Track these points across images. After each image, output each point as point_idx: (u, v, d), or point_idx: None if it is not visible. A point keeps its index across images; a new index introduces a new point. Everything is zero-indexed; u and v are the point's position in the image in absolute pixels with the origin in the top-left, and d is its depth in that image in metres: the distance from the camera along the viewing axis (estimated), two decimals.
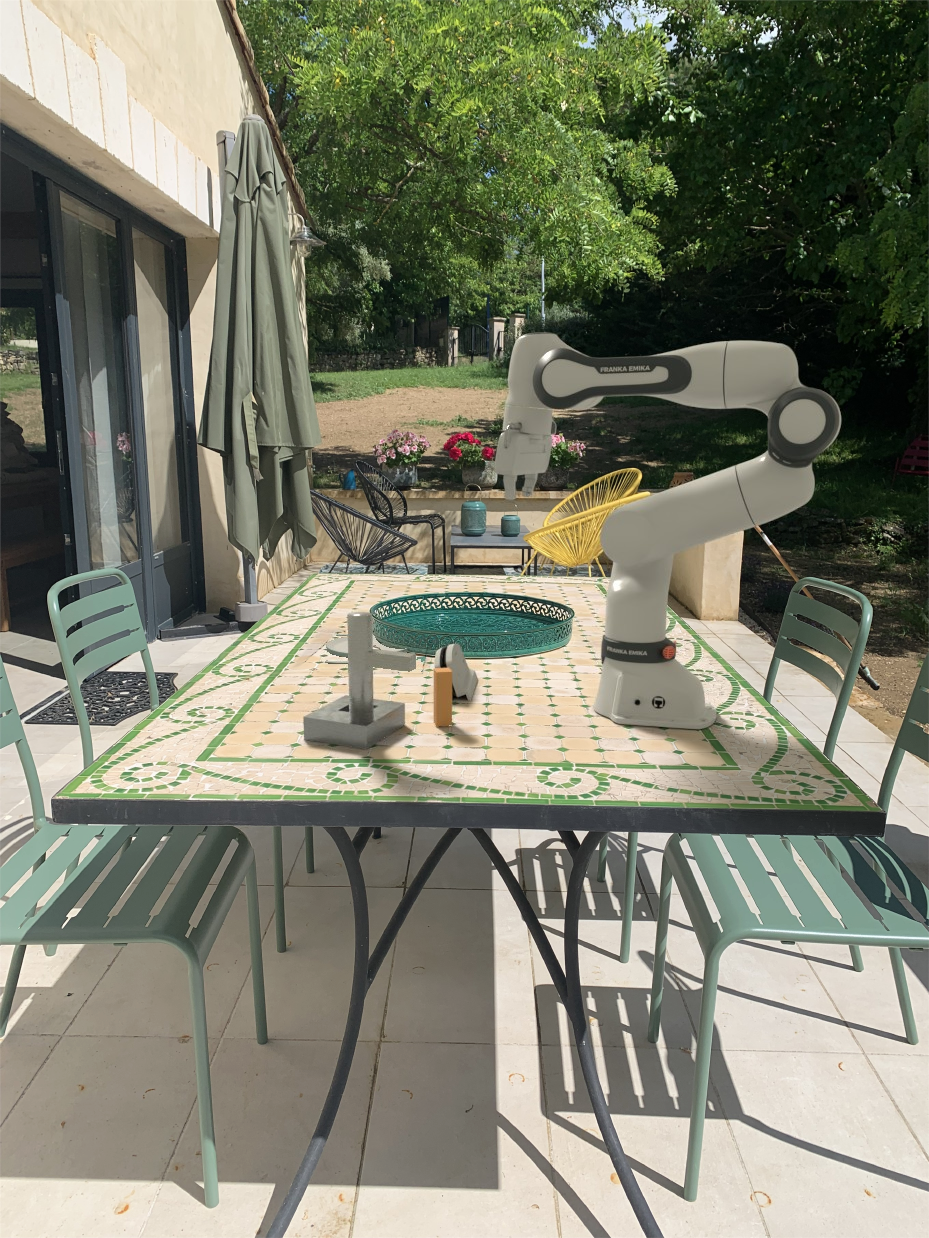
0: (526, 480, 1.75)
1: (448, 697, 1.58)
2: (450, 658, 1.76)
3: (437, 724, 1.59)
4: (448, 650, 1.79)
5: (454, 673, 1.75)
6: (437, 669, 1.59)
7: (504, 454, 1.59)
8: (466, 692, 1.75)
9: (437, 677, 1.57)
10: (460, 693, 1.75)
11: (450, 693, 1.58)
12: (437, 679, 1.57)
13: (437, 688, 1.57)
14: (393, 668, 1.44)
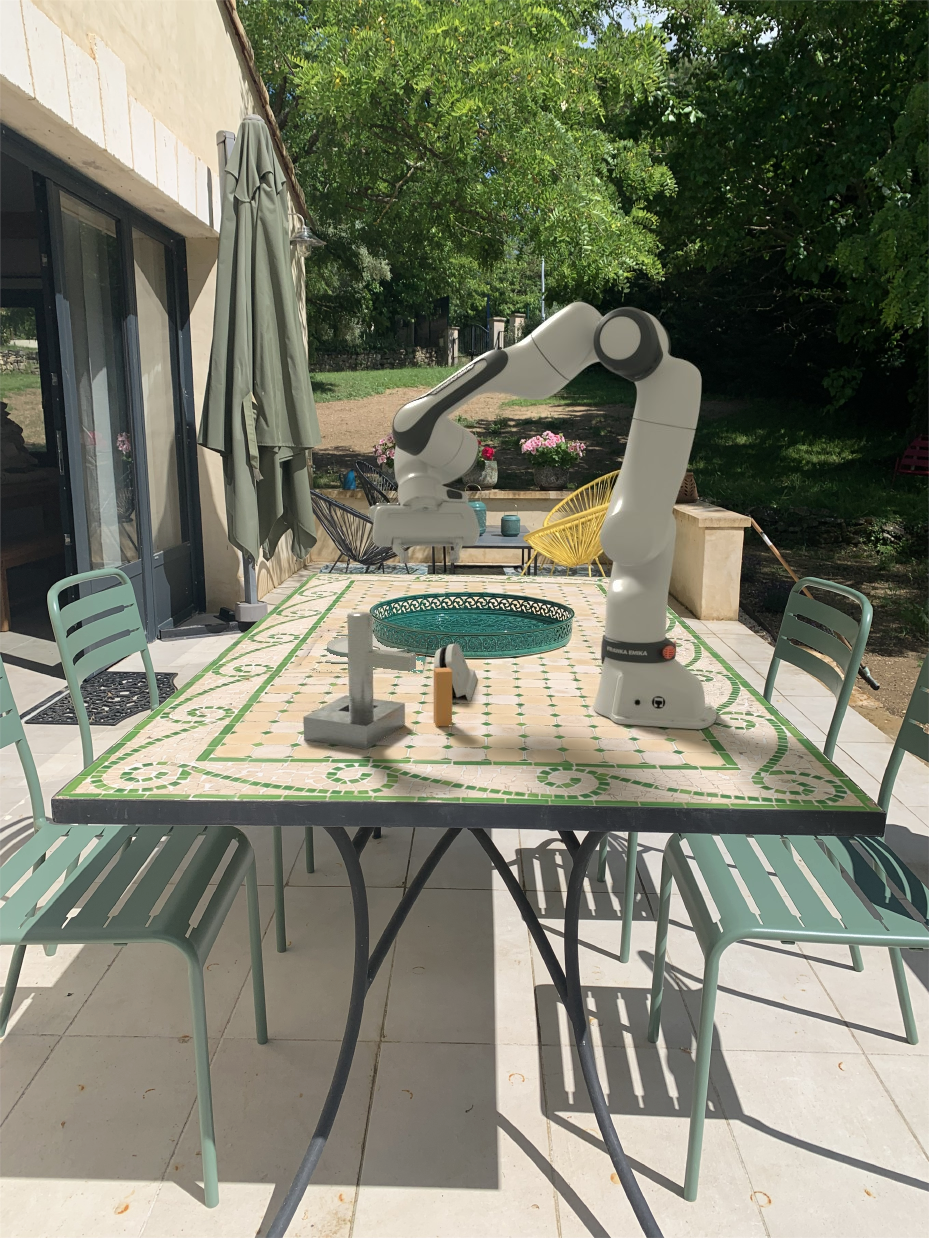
0: None
1: (448, 697, 1.58)
2: (450, 658, 1.76)
3: (437, 724, 1.59)
4: (448, 650, 1.79)
5: (454, 673, 1.74)
6: (437, 669, 1.59)
7: None
8: (466, 692, 1.75)
9: (437, 677, 1.57)
10: (460, 693, 1.75)
11: (450, 693, 1.58)
12: (437, 679, 1.57)
13: (437, 688, 1.57)
14: (393, 668, 1.44)
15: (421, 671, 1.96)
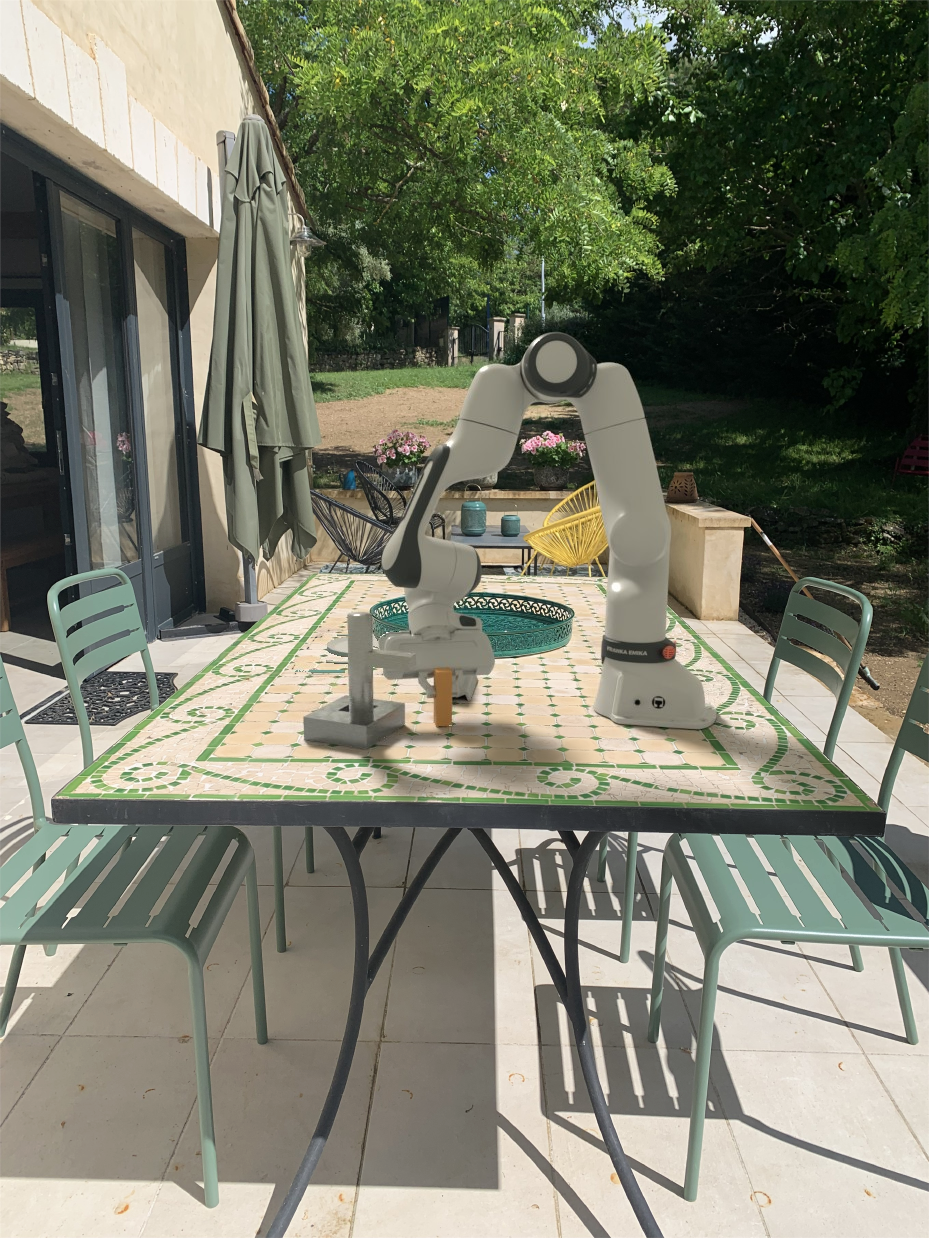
0: None
1: (448, 697, 1.58)
2: None
3: (437, 724, 1.59)
4: None
5: None
6: (437, 669, 1.59)
7: None
8: (466, 692, 1.75)
9: (437, 677, 1.57)
10: (460, 693, 1.75)
11: (450, 693, 1.58)
12: (437, 679, 1.57)
13: (437, 688, 1.57)
14: (393, 668, 1.44)
15: None
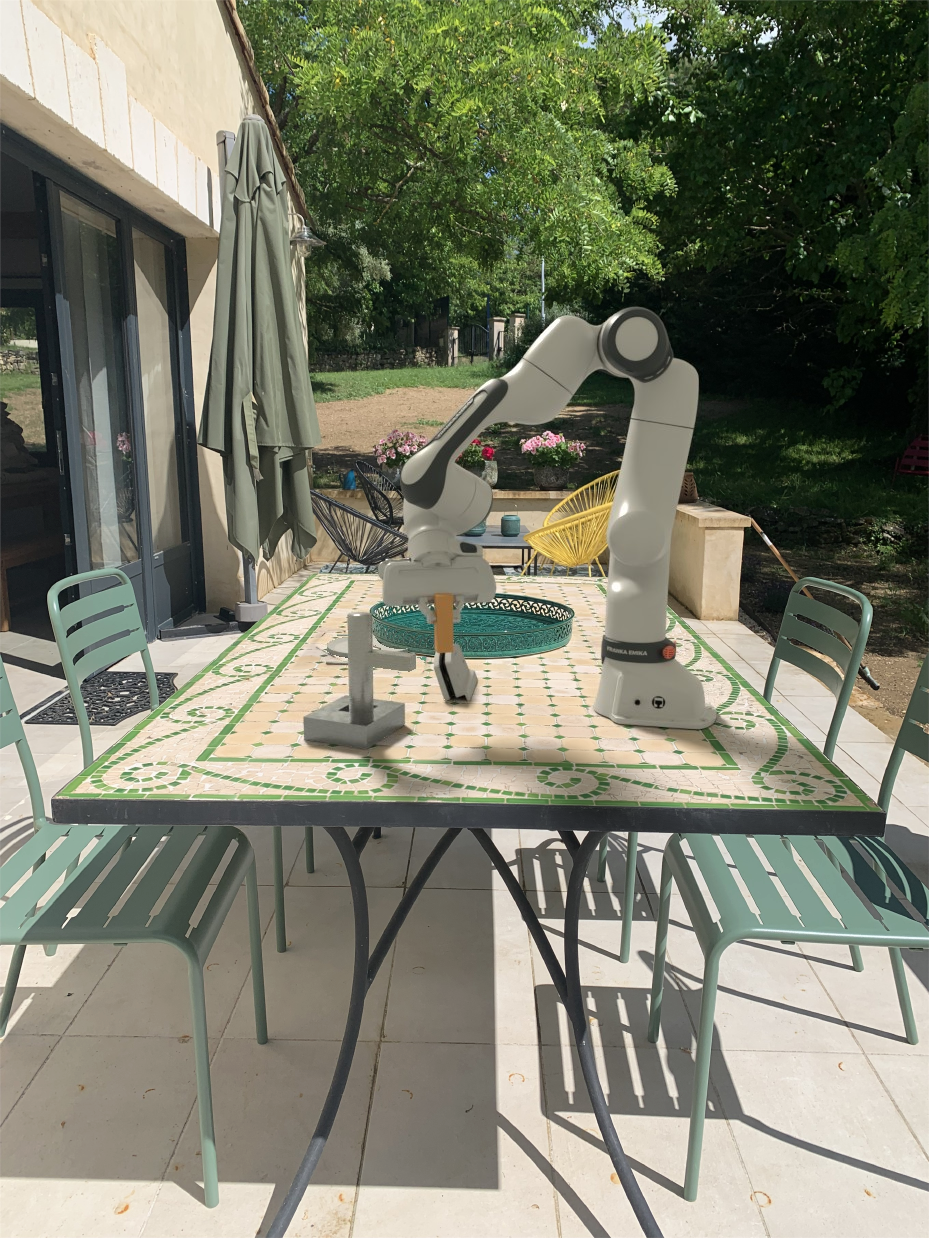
0: None
1: (449, 622, 1.55)
2: (449, 658, 1.75)
3: (438, 650, 1.56)
4: None
5: (453, 673, 1.74)
6: (438, 594, 1.56)
7: None
8: (465, 692, 1.74)
9: (438, 601, 1.54)
10: (459, 693, 1.74)
11: (451, 618, 1.55)
12: (438, 603, 1.54)
13: (438, 613, 1.55)
14: (393, 668, 1.44)
15: None
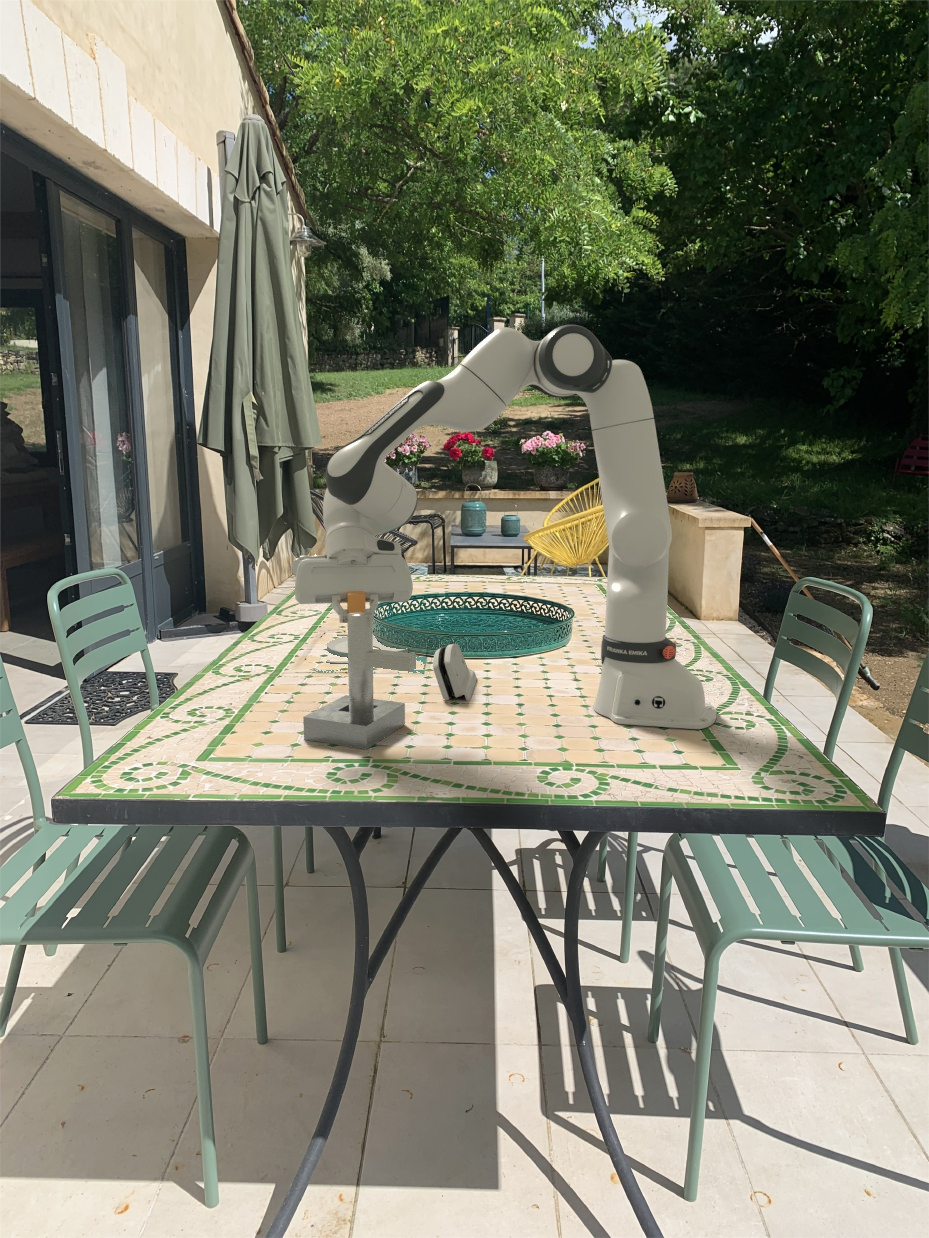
0: None
1: None
2: (449, 658, 1.75)
3: None
4: (447, 650, 1.79)
5: (452, 673, 1.74)
6: (350, 592, 1.52)
7: None
8: (464, 692, 1.74)
9: (349, 599, 1.51)
10: (458, 693, 1.74)
11: None
12: (349, 602, 1.51)
13: (350, 612, 1.51)
14: (393, 668, 1.44)
15: (422, 671, 1.96)
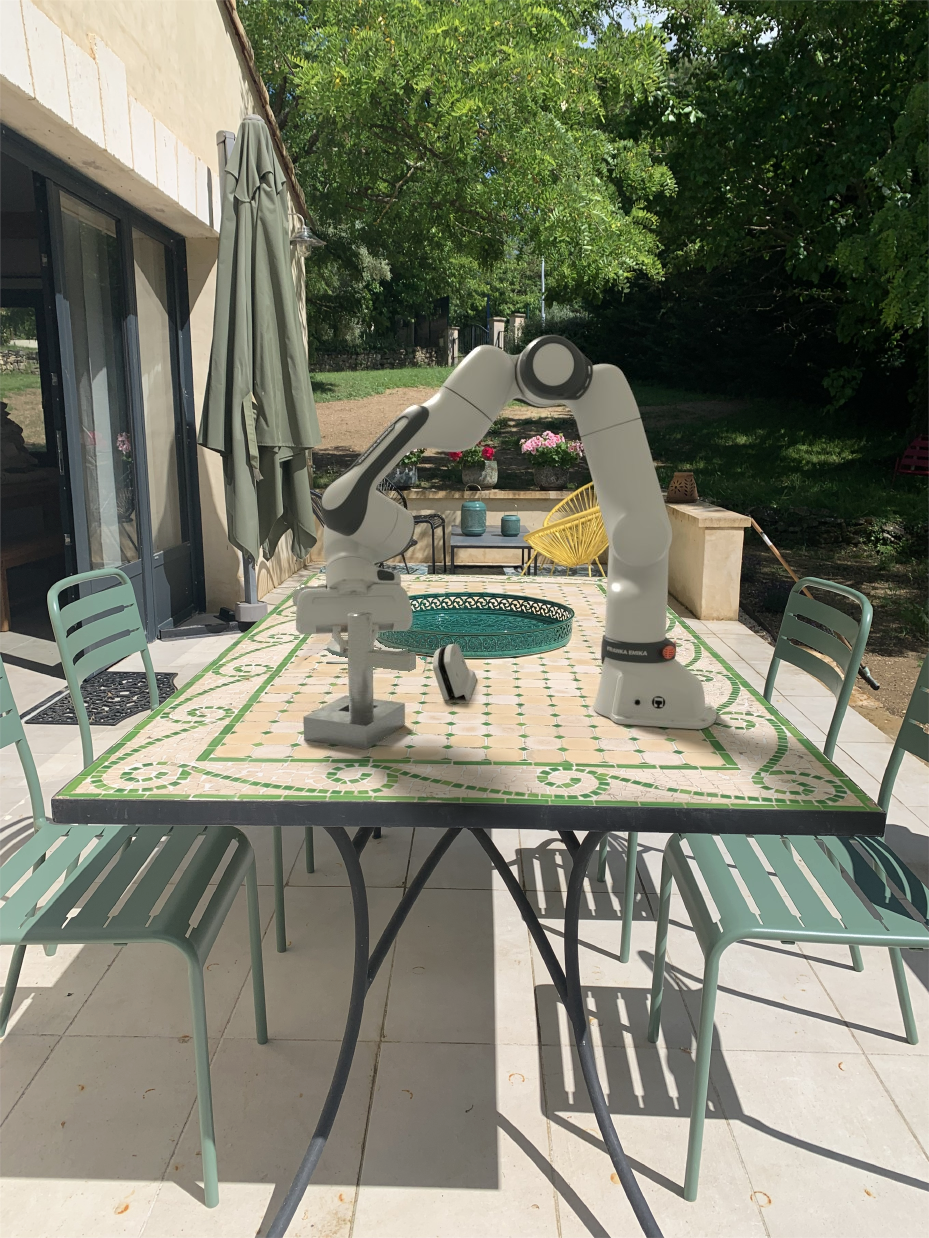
0: None
1: None
2: (448, 658, 1.75)
3: None
4: (447, 650, 1.79)
5: (452, 673, 1.74)
6: None
7: None
8: (464, 692, 1.74)
9: None
10: (458, 693, 1.74)
11: None
12: None
13: None
14: (393, 668, 1.44)
15: None
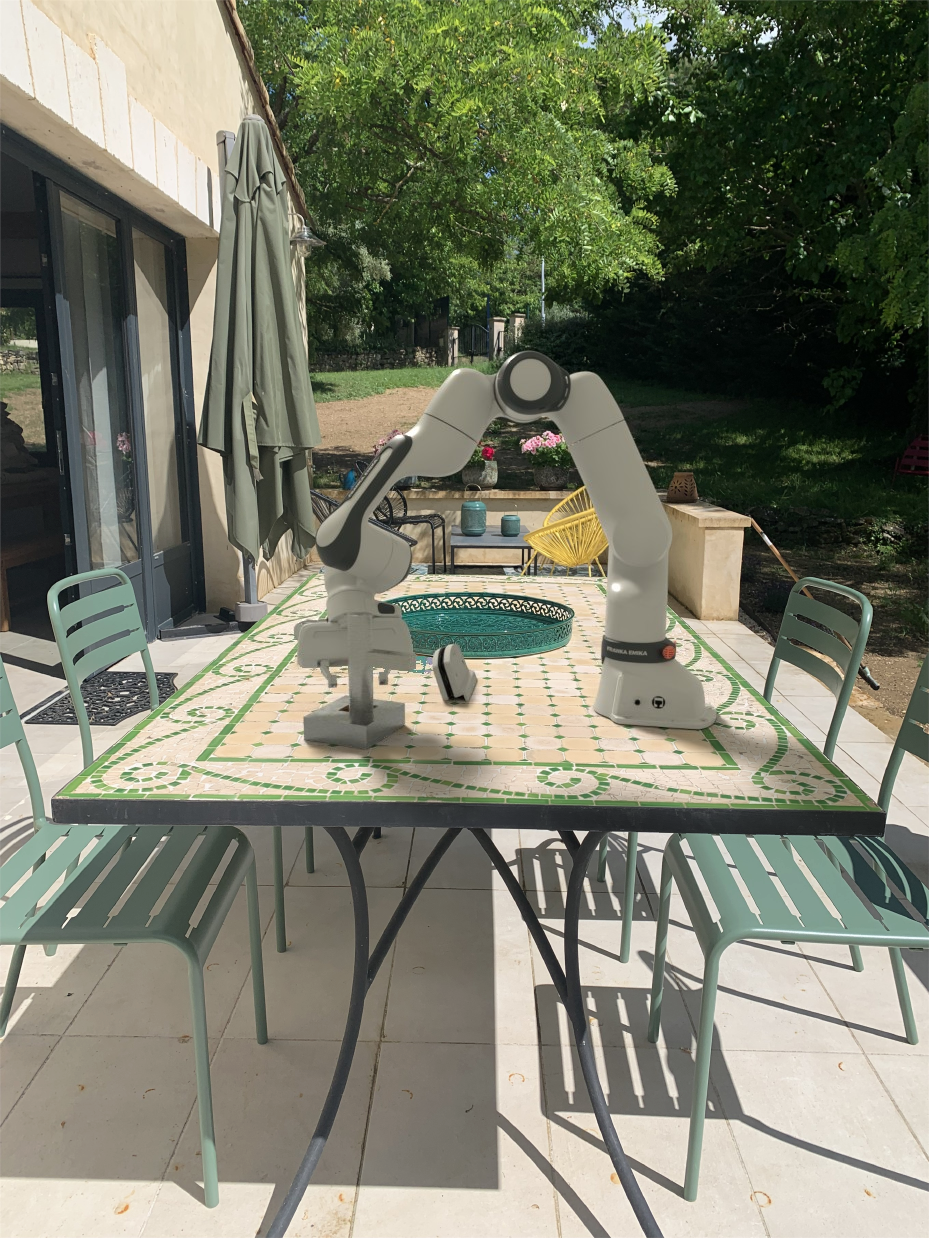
0: None
1: None
2: (448, 658, 1.75)
3: None
4: (446, 650, 1.79)
5: (452, 673, 1.74)
6: None
7: None
8: (464, 692, 1.74)
9: None
10: (458, 693, 1.74)
11: None
12: None
13: None
14: (393, 668, 1.44)
15: (423, 671, 1.96)
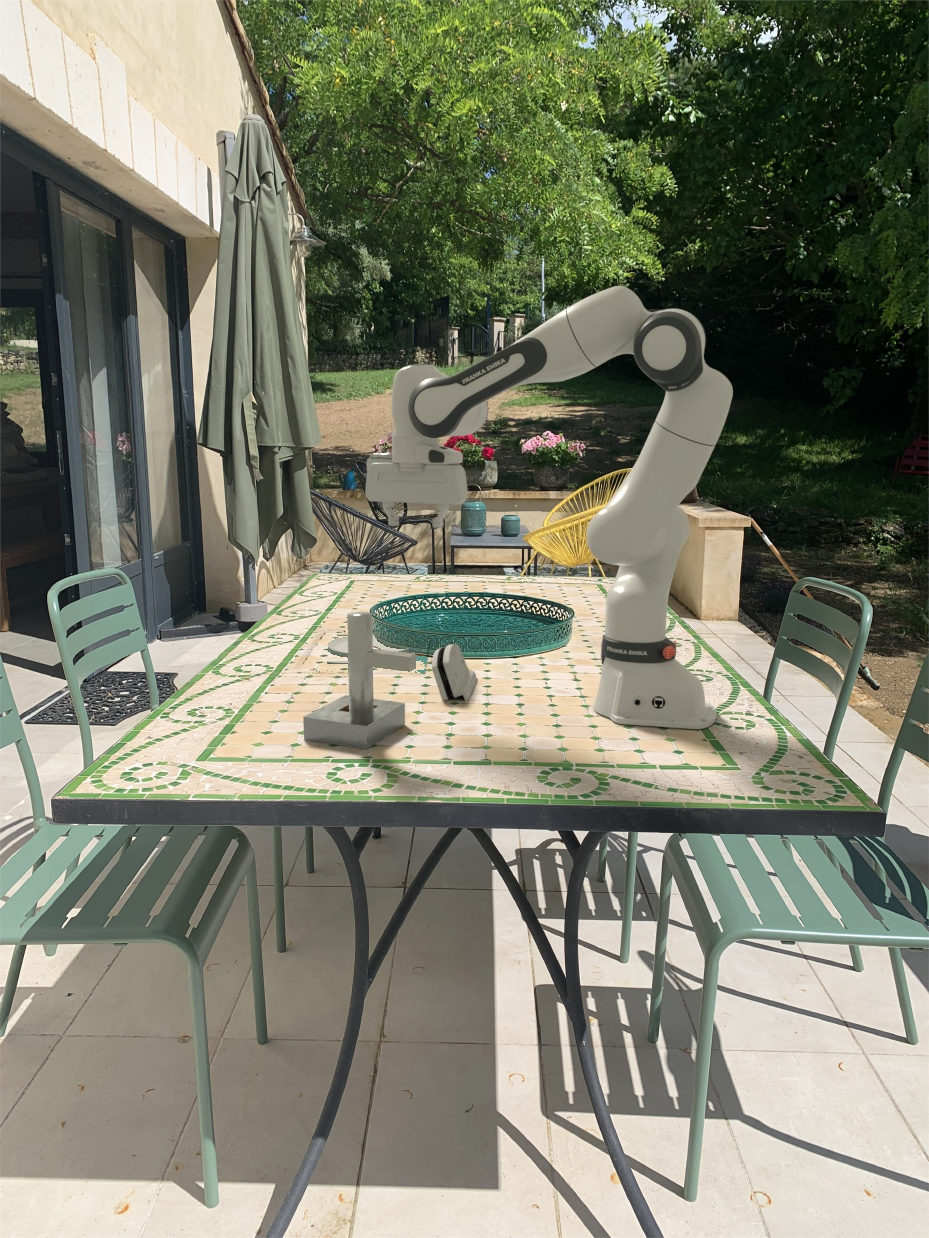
0: None
1: None
2: (447, 658, 1.75)
3: None
4: (446, 650, 1.79)
5: (451, 673, 1.74)
6: None
7: None
8: (463, 693, 1.74)
9: None
10: (457, 694, 1.74)
11: None
12: None
13: None
14: (393, 668, 1.44)
15: (423, 671, 1.95)
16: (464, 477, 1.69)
